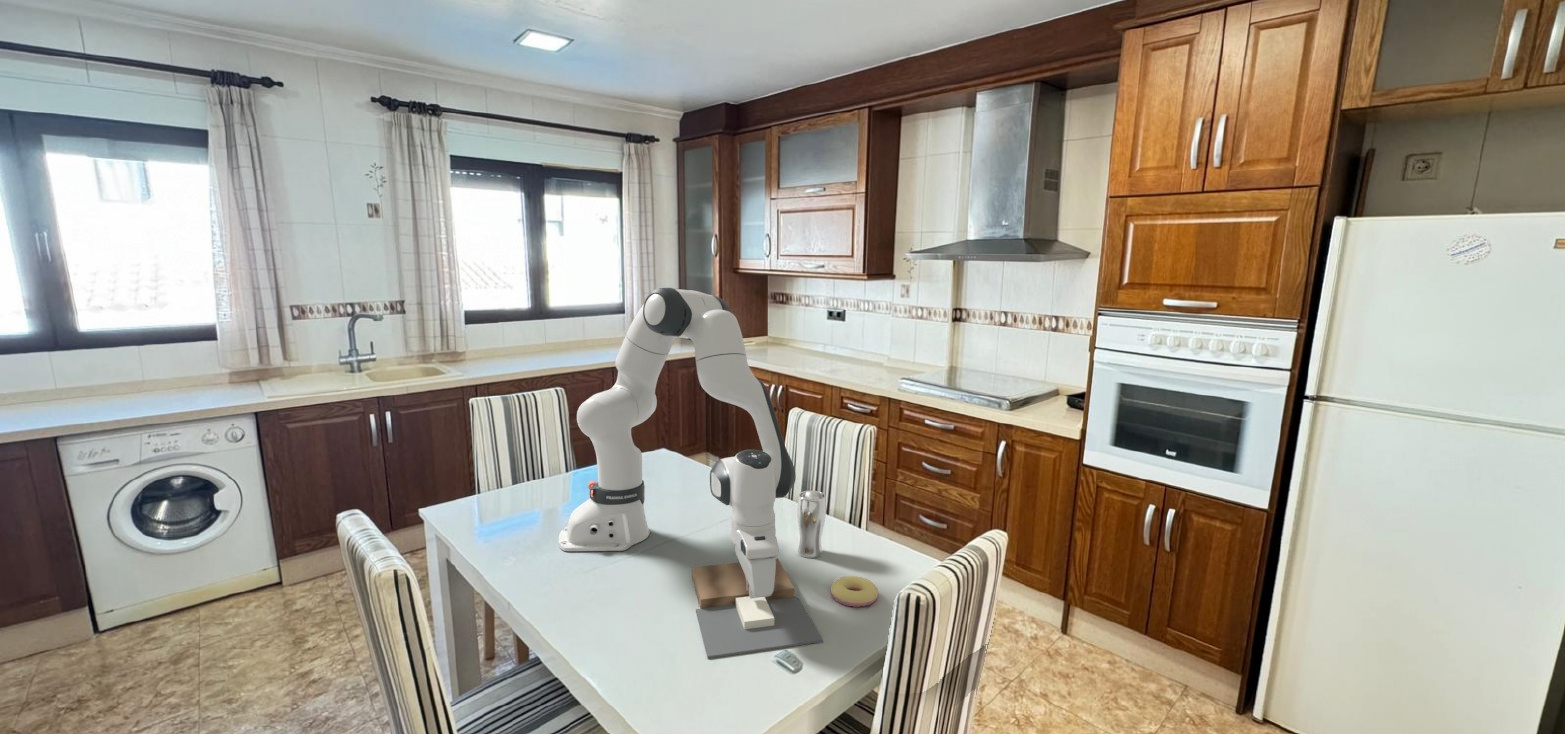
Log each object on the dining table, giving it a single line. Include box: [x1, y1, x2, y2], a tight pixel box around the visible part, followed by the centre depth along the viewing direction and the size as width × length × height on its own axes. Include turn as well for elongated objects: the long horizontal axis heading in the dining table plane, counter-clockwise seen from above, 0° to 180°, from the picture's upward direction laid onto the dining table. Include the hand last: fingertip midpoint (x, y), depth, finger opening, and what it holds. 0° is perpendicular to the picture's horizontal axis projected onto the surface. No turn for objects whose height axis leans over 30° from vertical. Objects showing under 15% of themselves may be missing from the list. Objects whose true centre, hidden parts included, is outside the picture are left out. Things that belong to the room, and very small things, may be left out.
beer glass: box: [796, 490, 827, 559], centre depth 155 cm, size 7×7×15 cm
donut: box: [830, 575, 879, 608], centre depth 136 cm, size 10×5×9 cm
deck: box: [691, 557, 795, 609], centre depth 139 cm, size 20×14×2 cm
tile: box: [735, 596, 774, 629], centre depth 128 cm, size 6×9×2 cm, turn 16°
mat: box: [695, 596, 824, 660], centre depth 125 cm, size 22×16×1 cm
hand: (752, 594), depth 130 cm, fingers closed
